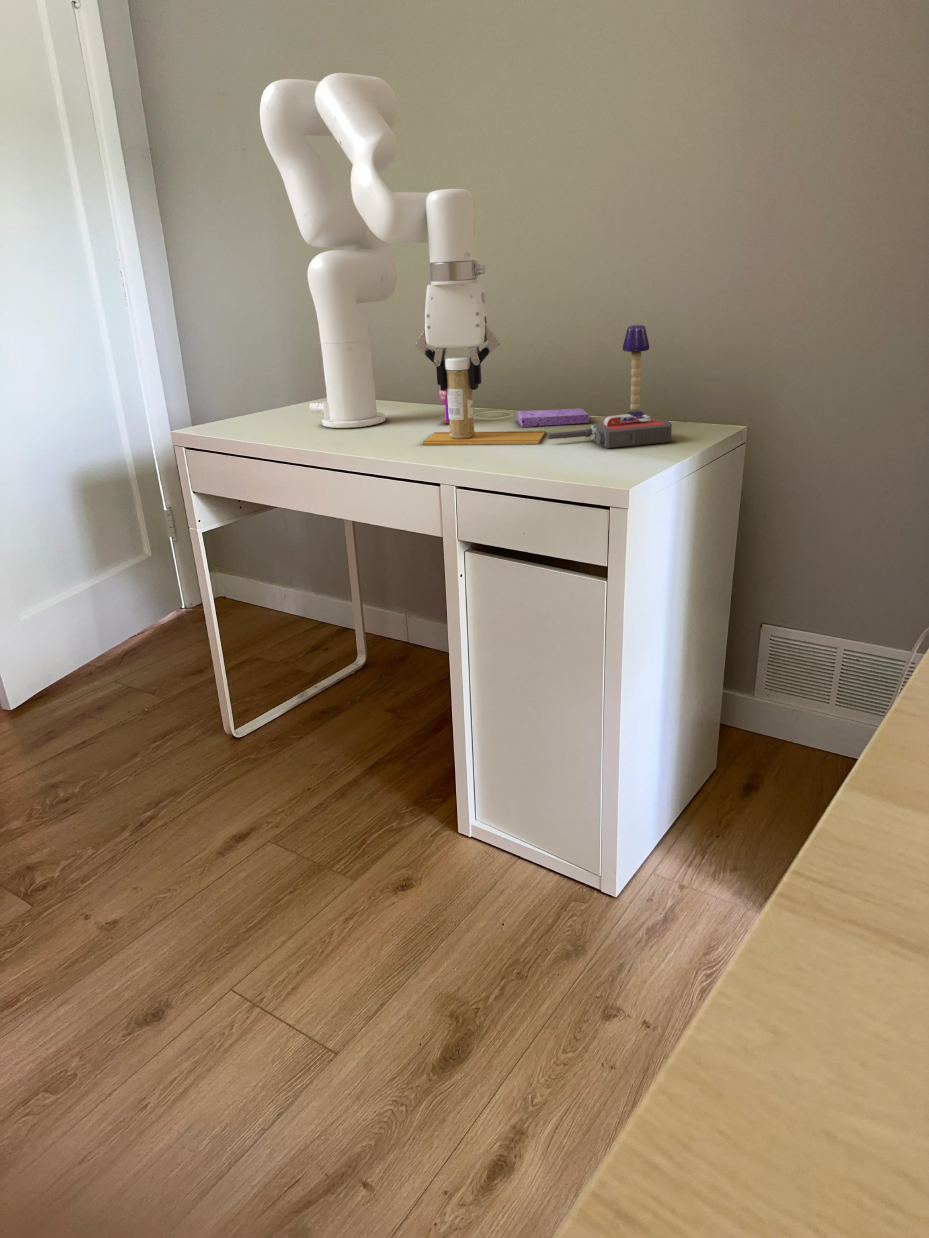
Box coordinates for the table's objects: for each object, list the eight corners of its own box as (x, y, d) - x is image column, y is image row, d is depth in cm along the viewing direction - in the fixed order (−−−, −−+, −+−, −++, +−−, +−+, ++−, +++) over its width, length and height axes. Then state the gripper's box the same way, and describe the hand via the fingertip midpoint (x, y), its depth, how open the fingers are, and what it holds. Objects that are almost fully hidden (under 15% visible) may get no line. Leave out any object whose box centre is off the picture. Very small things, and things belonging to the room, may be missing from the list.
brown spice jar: (480, 436, 148) (476, 356, 143) (458, 440, 146) (453, 359, 140) (465, 433, 152) (461, 354, 146) (444, 437, 149) (439, 357, 144)
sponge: (517, 420, 162) (517, 410, 162) (583, 417, 162) (583, 407, 162) (520, 427, 156) (520, 417, 155) (589, 423, 156) (589, 413, 155)
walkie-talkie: (657, 432, 145) (545, 443, 142) (658, 406, 143) (544, 416, 140) (680, 442, 137) (561, 454, 134) (681, 414, 135) (560, 425, 132)
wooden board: (422, 445, 146) (422, 442, 146) (435, 434, 154) (435, 431, 154) (538, 444, 142) (538, 441, 142) (545, 433, 150) (545, 430, 150)
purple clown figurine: (442, 418, 169) (438, 356, 164) (458, 418, 169) (454, 355, 164) (439, 429, 158) (435, 362, 154) (456, 428, 158) (452, 361, 154)
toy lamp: (649, 423, 153) (652, 326, 146) (623, 425, 153) (625, 327, 146) (644, 419, 157) (647, 324, 151) (619, 420, 157) (620, 325, 151)
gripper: (508, 271, 140) (512, 384, 147) (409, 276, 143) (417, 387, 151) (500, 272, 133) (504, 391, 140) (397, 277, 137) (406, 393, 144)
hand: (459, 388), depth 145 cm, fingers closed on brown spice jar, 4 cm apart
